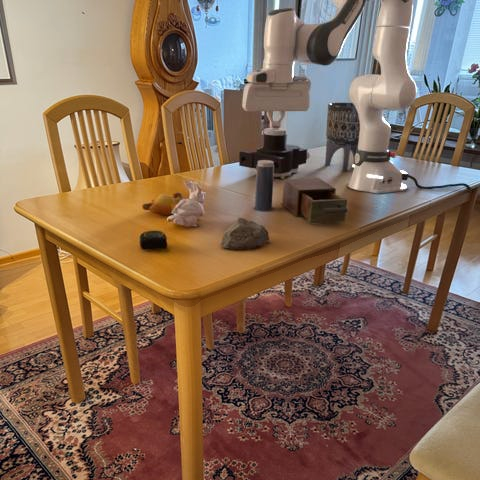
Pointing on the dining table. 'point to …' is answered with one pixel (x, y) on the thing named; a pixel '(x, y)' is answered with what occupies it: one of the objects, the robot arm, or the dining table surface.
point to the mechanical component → (276, 153)
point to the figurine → (189, 206)
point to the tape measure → (153, 240)
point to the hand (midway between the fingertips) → (275, 127)
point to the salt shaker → (264, 185)
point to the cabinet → (297, 186)
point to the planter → (342, 131)
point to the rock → (244, 235)
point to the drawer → (322, 207)
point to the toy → (163, 204)
